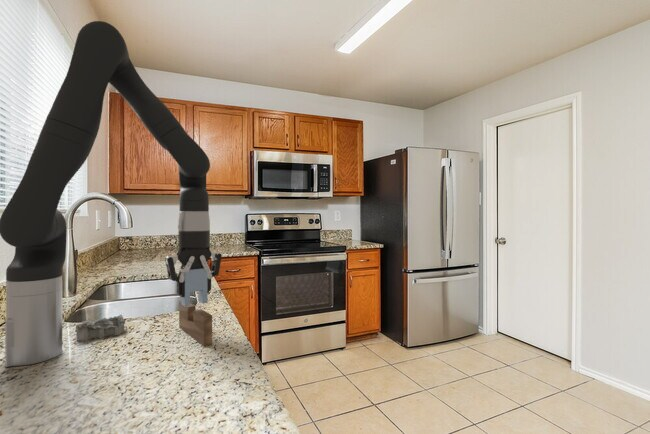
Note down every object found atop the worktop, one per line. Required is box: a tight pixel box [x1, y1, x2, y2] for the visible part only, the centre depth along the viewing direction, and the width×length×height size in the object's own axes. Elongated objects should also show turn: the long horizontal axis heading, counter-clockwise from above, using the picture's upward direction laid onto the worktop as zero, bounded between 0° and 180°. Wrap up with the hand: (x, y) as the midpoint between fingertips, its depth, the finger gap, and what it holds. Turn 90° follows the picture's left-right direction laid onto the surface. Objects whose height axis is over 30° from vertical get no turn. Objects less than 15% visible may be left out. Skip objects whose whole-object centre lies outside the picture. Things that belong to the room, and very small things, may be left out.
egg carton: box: [75, 314, 126, 342], centre depth 88 cm, size 11×8×4 cm
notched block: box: [180, 267, 209, 307], centre depth 86 cm, size 6×3×9 cm, turn 131°
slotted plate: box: [178, 301, 213, 348], centre depth 86 cm, size 2×18×7 cm, turn 41°
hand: (194, 294), depth 86 cm, fingers closed on notched block, 5 cm apart
